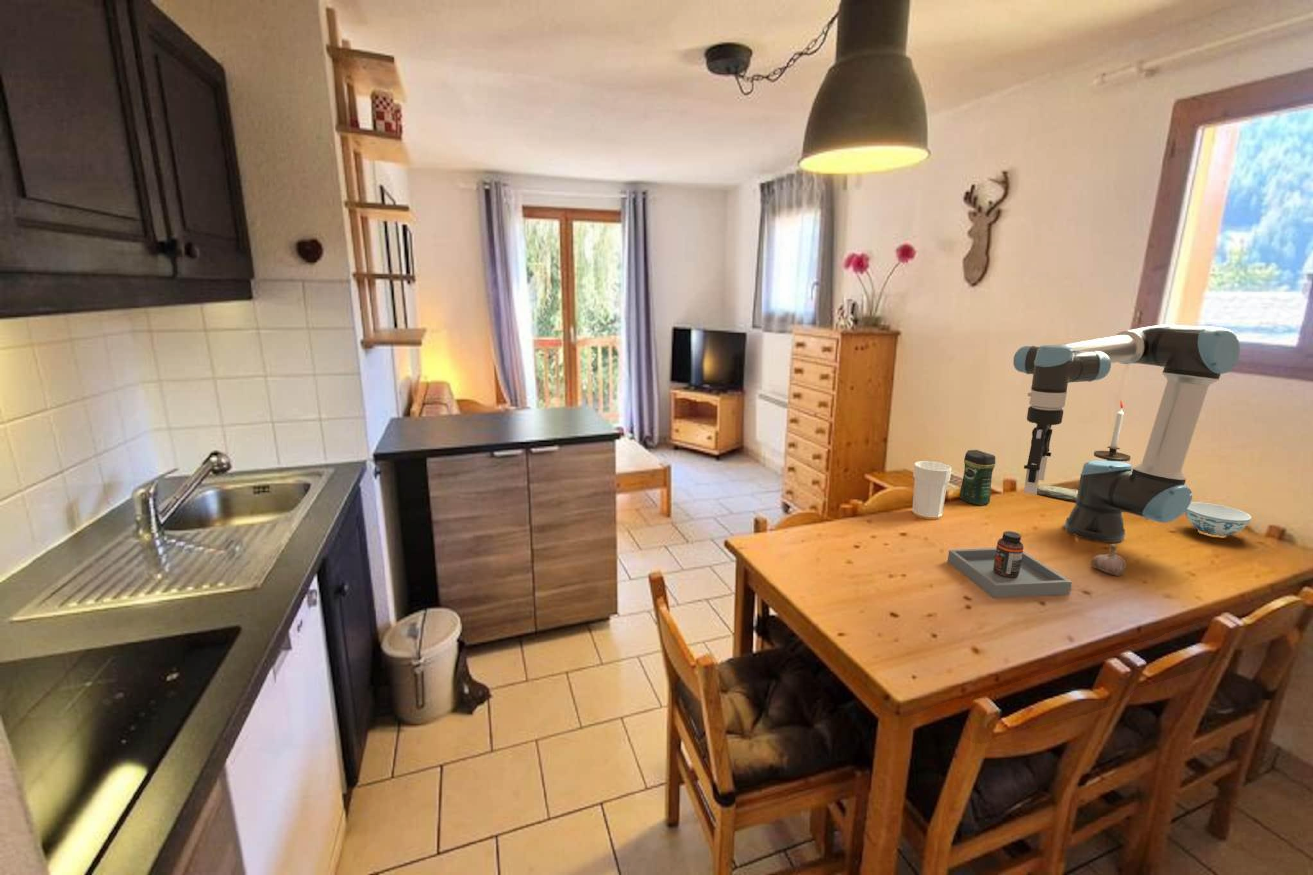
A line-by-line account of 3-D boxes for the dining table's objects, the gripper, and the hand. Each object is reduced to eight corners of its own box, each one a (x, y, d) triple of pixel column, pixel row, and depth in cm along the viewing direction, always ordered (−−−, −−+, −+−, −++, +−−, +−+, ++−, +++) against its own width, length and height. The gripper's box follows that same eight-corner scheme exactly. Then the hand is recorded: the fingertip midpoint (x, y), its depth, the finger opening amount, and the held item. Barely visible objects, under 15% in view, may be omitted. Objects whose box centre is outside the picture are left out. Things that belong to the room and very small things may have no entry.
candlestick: (1079, 487, 223) (1097, 398, 215) (1101, 485, 226) (1119, 396, 217) (1107, 497, 213) (1126, 403, 204) (1130, 494, 216) (1150, 402, 207)
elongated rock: (1035, 492, 223) (1032, 500, 216) (1036, 479, 222) (1033, 487, 215) (1154, 508, 202) (1155, 518, 194) (1156, 493, 200) (1157, 503, 193)
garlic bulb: (1126, 580, 152) (1132, 552, 150) (1091, 573, 156) (1097, 546, 154) (1121, 568, 158) (1127, 541, 156) (1088, 562, 162) (1094, 536, 160)
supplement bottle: (987, 568, 156) (993, 529, 153) (1008, 567, 157) (1015, 528, 154) (1002, 579, 150) (1008, 538, 148) (1024, 578, 151) (1030, 537, 148)
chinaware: (1259, 544, 173) (1266, 520, 172) (1208, 544, 174) (1214, 520, 172) (1213, 524, 188) (1219, 502, 186) (1166, 524, 188) (1172, 502, 186)
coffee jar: (993, 504, 206) (1001, 454, 201) (975, 506, 203) (983, 456, 199) (972, 495, 215) (979, 447, 210) (954, 497, 212) (961, 448, 208)
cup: (951, 521, 191) (958, 470, 187) (917, 521, 191) (923, 470, 187) (935, 508, 202) (942, 460, 198) (903, 508, 202) (908, 460, 198)
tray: (1014, 558, 164) (1016, 547, 163) (1069, 594, 145) (1071, 581, 144) (947, 561, 162) (949, 549, 162) (993, 597, 143) (995, 585, 142)
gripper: (1035, 397, 158) (1025, 471, 164) (1020, 414, 140) (1008, 496, 145) (1069, 400, 154) (1056, 476, 159) (1057, 417, 135) (1044, 503, 141)
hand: (1034, 486), depth 152 cm, fingers open, 13 cm apart
